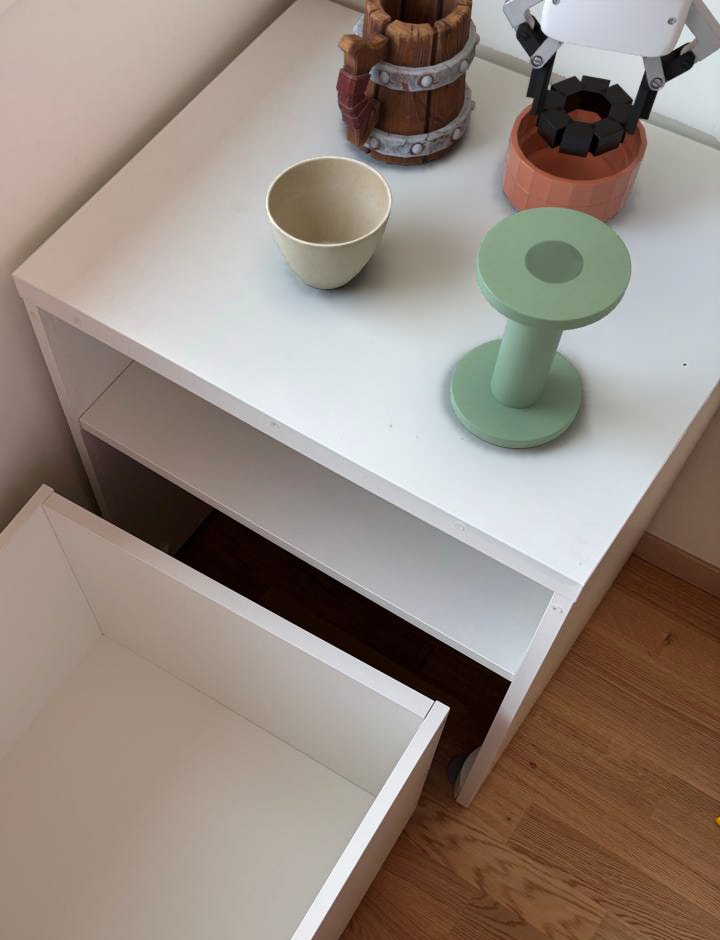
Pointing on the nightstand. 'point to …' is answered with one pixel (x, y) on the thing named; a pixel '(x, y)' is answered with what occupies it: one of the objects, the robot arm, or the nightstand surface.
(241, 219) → the nightstand surface
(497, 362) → the stand
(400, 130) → the mug
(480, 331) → the nightstand surface
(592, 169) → the bowl
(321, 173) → the flower pot
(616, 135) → the ring
